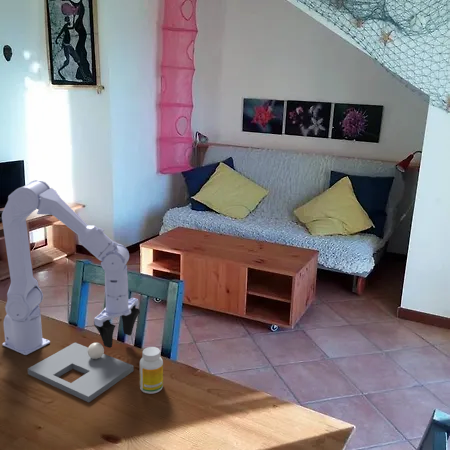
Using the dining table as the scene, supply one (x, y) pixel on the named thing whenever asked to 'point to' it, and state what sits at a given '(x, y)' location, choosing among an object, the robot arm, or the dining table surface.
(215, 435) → the dining table surface
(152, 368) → the supplement bottle
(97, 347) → the ball
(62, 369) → the plate
